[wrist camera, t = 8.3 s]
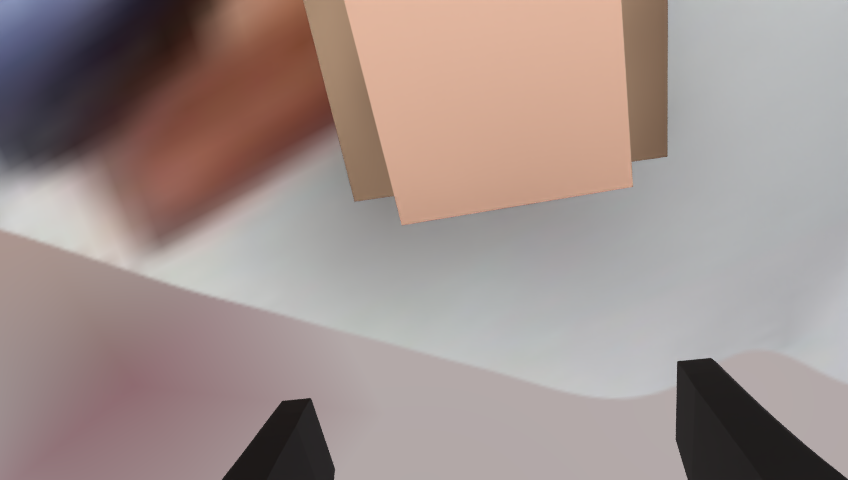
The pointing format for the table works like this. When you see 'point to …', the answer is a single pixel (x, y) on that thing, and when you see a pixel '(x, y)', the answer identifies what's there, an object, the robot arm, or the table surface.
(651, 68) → the walnut pad
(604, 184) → the pinkish brown rectangular block
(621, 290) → the table surface
